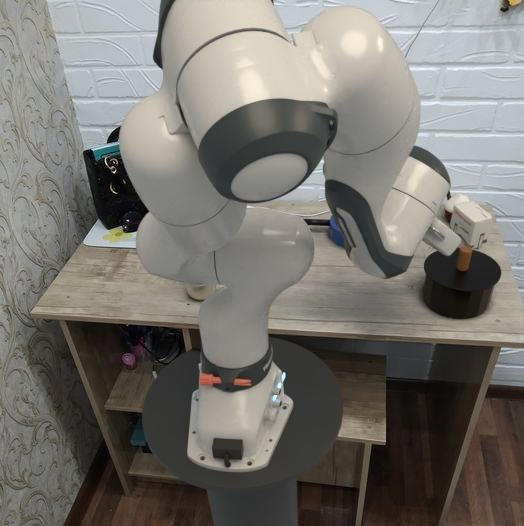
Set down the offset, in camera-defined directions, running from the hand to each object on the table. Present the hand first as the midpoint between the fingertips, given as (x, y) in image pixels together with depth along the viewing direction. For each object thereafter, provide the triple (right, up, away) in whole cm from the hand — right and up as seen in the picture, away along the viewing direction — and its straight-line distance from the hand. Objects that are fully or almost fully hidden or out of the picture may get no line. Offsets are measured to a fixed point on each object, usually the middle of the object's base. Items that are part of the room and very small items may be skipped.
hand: (428, 235), depth 104 cm
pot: (+11, -10, +18) cm, 24 cm away
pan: (-7, +8, +39) cm, 40 cm away
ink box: (+17, +1, +30) cm, 34 cm away
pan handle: (-18, +10, +39) cm, 44 cm away
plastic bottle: (-44, -9, +24) cm, 51 cm away
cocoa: (+19, +12, +42) cm, 47 cm away
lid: (+11, -4, +13) cm, 18 cm away
